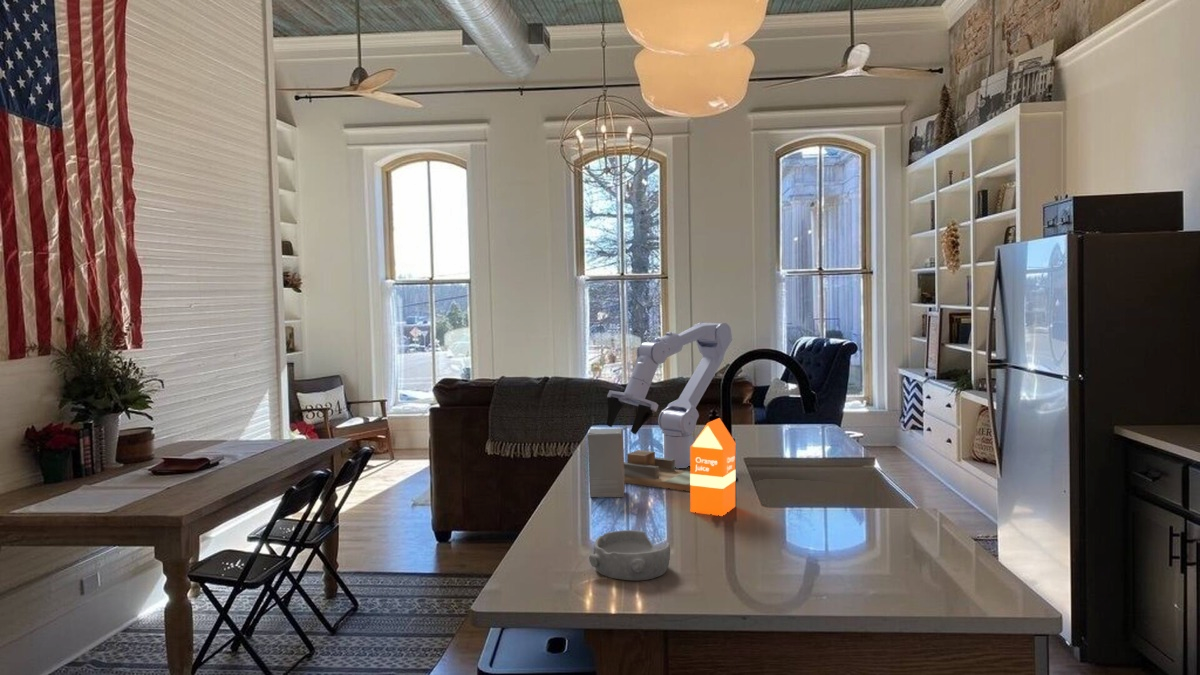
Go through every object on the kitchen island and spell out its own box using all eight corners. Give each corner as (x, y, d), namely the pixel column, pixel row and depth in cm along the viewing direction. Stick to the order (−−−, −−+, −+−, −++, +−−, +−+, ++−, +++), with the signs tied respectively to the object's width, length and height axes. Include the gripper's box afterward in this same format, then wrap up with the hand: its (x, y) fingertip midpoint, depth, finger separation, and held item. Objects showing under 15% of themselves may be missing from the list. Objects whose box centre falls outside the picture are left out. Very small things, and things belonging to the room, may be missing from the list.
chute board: (630, 469, 216) (630, 453, 216) (711, 479, 204) (711, 462, 203) (604, 480, 204) (604, 463, 203) (689, 491, 192) (689, 473, 191)
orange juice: (689, 511, 174) (689, 422, 173) (703, 502, 181) (703, 416, 180) (723, 516, 170) (723, 424, 169) (736, 506, 178) (736, 418, 177)
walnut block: (638, 468, 210) (638, 450, 210) (654, 470, 207) (654, 451, 207) (627, 472, 205) (627, 454, 205) (644, 475, 202) (644, 455, 202)
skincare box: (625, 491, 192) (624, 427, 191) (623, 499, 185) (622, 432, 184) (590, 491, 192) (590, 427, 192) (587, 498, 185) (587, 432, 185)
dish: (624, 551, 148) (624, 525, 147) (686, 567, 139) (686, 539, 139) (573, 572, 136) (573, 544, 136) (637, 591, 128) (637, 561, 127)
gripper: (611, 371, 211) (591, 417, 207) (658, 382, 203) (639, 430, 199) (621, 381, 216) (602, 426, 212) (667, 393, 209) (648, 440, 205)
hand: (620, 429), depth 206 cm, fingers open, 7 cm apart
